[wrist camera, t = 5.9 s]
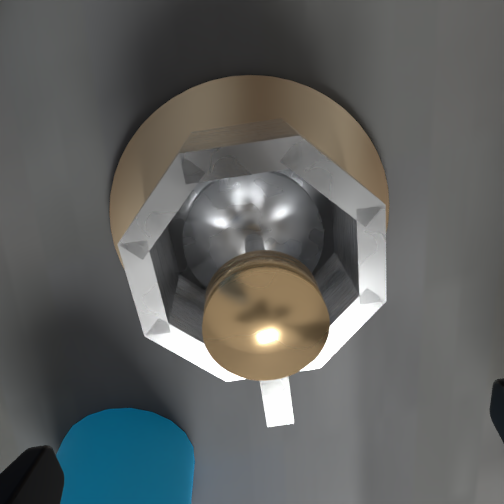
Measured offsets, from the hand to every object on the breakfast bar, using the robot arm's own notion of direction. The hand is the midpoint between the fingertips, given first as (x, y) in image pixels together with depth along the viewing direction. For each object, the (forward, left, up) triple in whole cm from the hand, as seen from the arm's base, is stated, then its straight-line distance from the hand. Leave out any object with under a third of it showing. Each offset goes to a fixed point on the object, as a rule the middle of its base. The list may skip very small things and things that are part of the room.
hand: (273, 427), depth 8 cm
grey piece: (0, +2, -12) cm, 12 cm away
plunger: (0, 0, -11) cm, 11 cm away
